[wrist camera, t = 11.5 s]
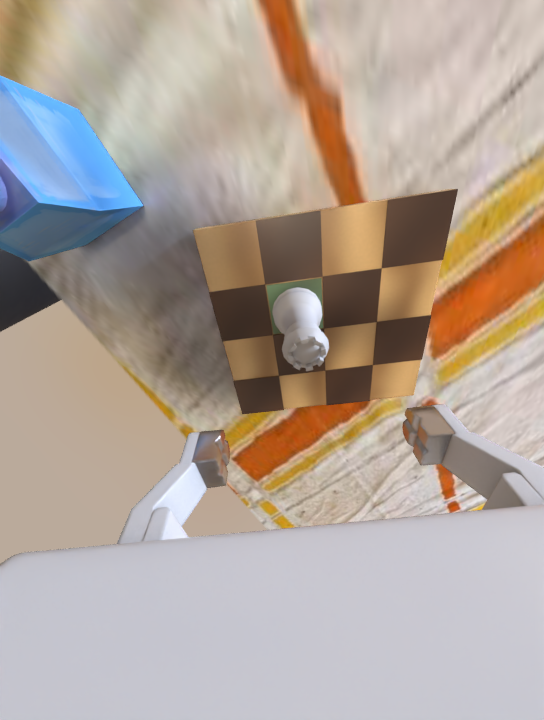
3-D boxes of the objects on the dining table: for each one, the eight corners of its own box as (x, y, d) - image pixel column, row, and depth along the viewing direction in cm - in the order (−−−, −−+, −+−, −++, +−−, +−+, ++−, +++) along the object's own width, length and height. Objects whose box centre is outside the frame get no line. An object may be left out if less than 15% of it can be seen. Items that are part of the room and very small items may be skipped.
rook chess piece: (330, 308, 24) (354, 354, 17) (295, 339, 26) (304, 392, 19) (297, 274, 22) (310, 310, 16) (262, 310, 24) (259, 356, 17)
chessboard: (243, 407, 32) (242, 414, 31) (195, 228, 21) (192, 230, 20) (409, 389, 31) (414, 395, 30) (449, 189, 20) (457, 188, 19)
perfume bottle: (86, 244, 22) (-71, 290, 12) (17, 162, 19) (-273, 128, 9) (143, 205, 20) (19, 219, 10) (78, 109, 17) (-187, -5, 7)
